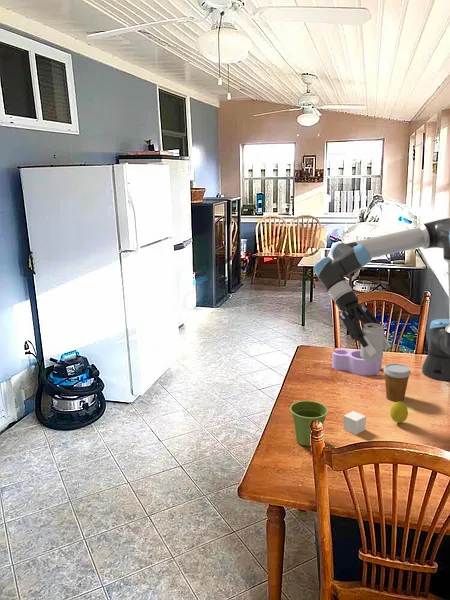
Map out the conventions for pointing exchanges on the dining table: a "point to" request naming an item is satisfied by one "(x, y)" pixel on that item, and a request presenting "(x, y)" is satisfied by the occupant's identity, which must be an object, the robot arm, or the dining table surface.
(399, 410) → the lemon
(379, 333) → the can
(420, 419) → the dining table surface
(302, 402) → the plant pot
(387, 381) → the disposable coffee cup
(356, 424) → the cream wooden block
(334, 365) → the clip
